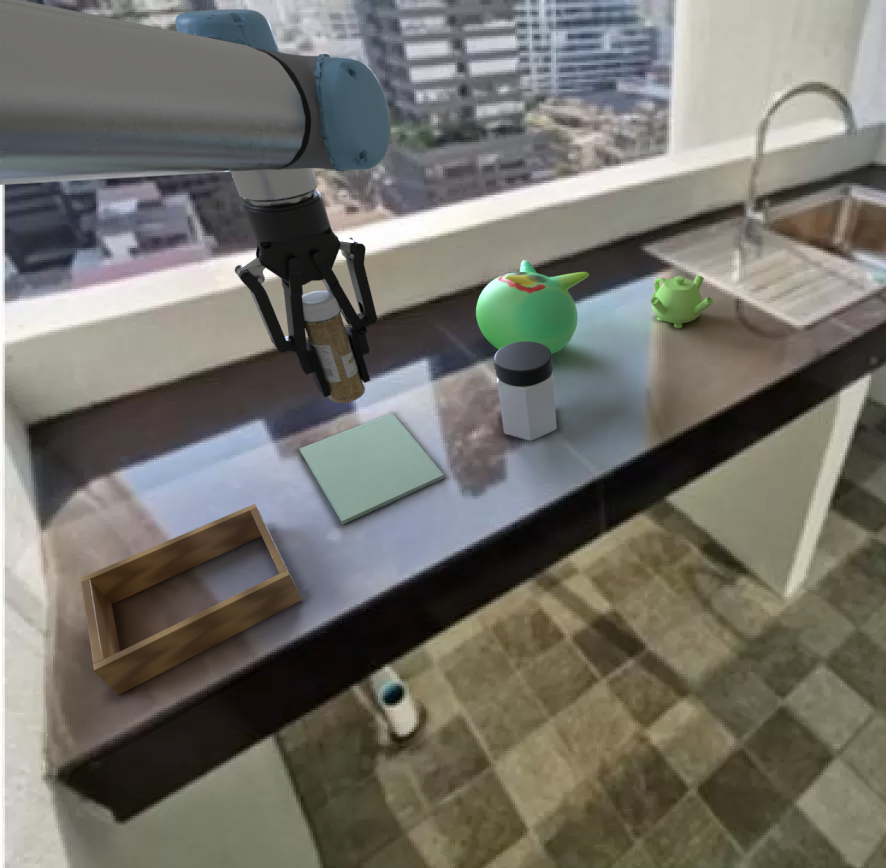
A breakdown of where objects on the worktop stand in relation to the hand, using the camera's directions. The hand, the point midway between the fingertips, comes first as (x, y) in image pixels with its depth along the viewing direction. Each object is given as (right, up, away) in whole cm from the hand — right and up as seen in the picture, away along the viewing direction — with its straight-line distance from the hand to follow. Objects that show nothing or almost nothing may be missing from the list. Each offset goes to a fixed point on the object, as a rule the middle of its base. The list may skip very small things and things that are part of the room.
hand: (344, 383), depth 76 cm
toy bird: (+20, +9, +33) cm, 40 cm away
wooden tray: (-12, -25, -9) cm, 29 cm away
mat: (0, -11, +9) cm, 14 cm away
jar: (+22, -5, +16) cm, 27 cm away
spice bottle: (0, -1, +1) cm, 2 cm away
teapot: (+48, +16, +41) cm, 65 cm away
